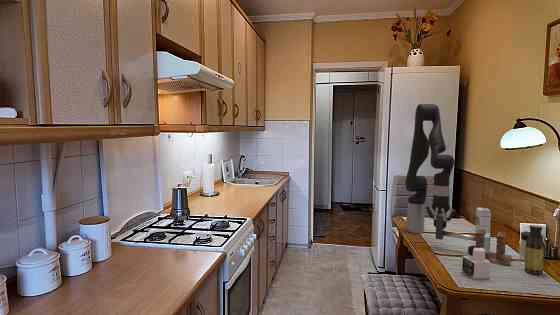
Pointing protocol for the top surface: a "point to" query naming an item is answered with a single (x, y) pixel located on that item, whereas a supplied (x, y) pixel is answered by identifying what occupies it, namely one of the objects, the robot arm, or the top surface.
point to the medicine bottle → (476, 263)
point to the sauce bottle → (534, 251)
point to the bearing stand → (500, 248)
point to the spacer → (487, 242)
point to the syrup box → (483, 219)
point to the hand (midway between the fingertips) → (440, 227)
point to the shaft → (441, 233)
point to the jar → (524, 244)
